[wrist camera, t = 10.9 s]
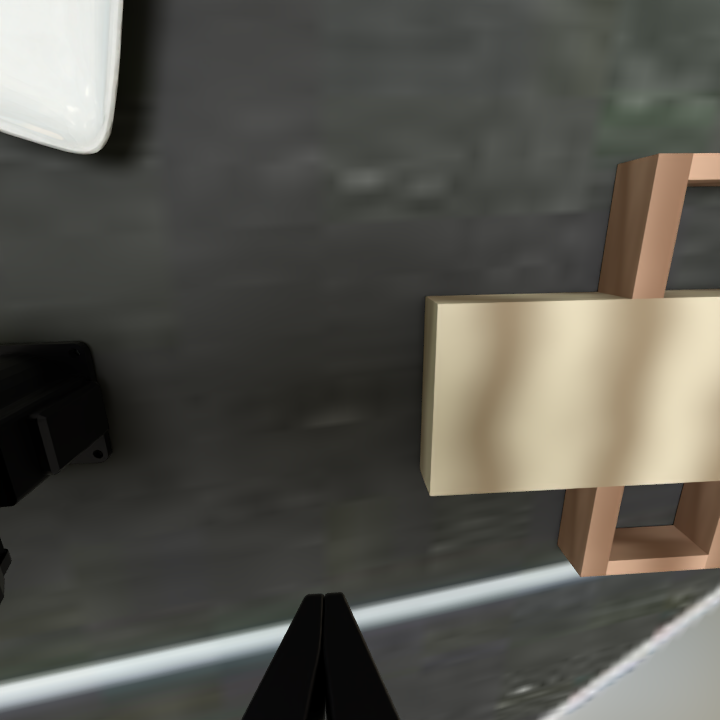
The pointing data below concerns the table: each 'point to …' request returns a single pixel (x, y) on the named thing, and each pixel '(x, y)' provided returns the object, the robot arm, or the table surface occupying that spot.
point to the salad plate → (60, 71)
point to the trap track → (590, 388)
